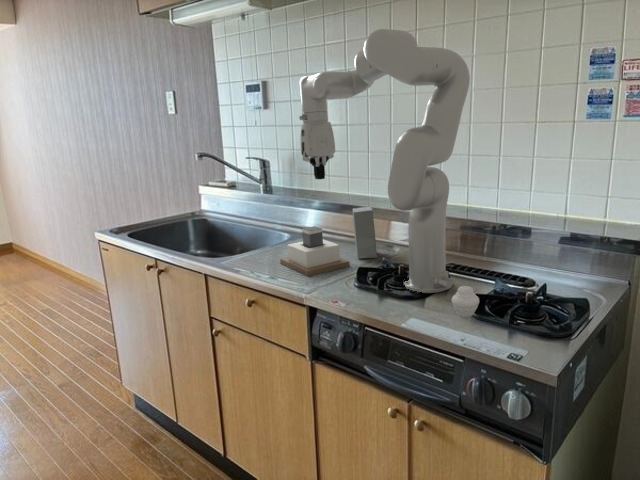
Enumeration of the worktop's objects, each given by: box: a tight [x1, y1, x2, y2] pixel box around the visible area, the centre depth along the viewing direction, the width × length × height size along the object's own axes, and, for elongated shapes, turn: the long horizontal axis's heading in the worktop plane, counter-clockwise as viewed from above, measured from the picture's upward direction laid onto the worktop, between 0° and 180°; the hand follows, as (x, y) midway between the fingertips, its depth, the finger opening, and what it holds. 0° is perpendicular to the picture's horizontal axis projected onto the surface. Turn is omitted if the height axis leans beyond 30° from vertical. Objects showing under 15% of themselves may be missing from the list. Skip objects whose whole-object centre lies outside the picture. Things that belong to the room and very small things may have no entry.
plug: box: [301, 225, 324, 248], centre depth 160 cm, size 5×5×9 cm
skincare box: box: [352, 206, 378, 260], centre depth 166 cm, size 8×7×16 cm
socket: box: [279, 238, 351, 277], centre depth 161 cm, size 18×15×6 cm
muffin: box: [451, 285, 480, 318], centre depth 116 cm, size 6×6×7 cm
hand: (319, 178), depth 158 cm, fingers closed
